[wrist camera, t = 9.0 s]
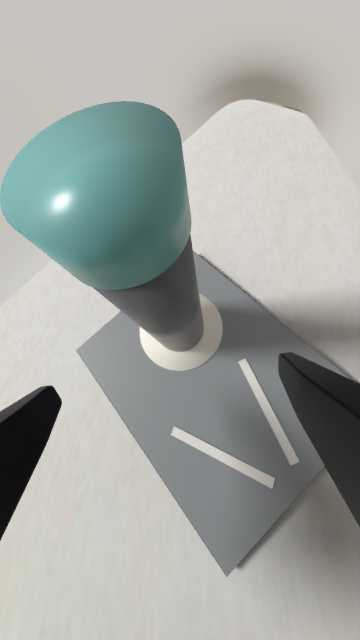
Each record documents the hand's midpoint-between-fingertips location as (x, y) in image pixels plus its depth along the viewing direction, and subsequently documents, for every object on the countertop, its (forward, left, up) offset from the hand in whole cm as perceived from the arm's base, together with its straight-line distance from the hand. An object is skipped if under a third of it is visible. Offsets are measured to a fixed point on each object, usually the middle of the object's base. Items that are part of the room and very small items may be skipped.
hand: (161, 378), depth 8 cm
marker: (+4, -2, -8) cm, 9 cm away
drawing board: (0, -1, -9) cm, 9 cm away
